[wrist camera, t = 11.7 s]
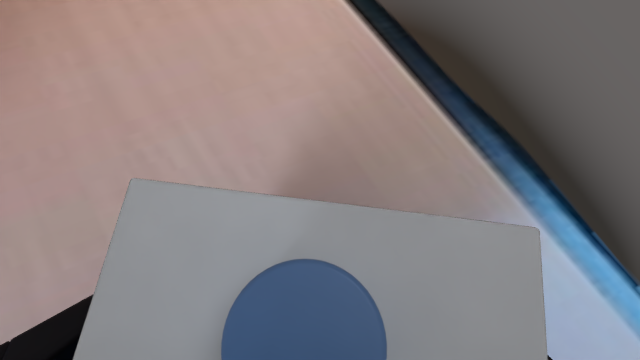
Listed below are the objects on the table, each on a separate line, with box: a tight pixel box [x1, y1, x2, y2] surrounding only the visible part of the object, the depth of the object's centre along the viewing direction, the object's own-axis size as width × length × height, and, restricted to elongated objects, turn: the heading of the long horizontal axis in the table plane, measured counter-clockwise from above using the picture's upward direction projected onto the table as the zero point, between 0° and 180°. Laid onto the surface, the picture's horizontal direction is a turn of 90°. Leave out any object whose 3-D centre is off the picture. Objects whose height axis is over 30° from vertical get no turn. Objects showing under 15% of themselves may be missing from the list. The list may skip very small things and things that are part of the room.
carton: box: [73, 178, 548, 360], centre depth 10 cm, size 6×6×13 cm
